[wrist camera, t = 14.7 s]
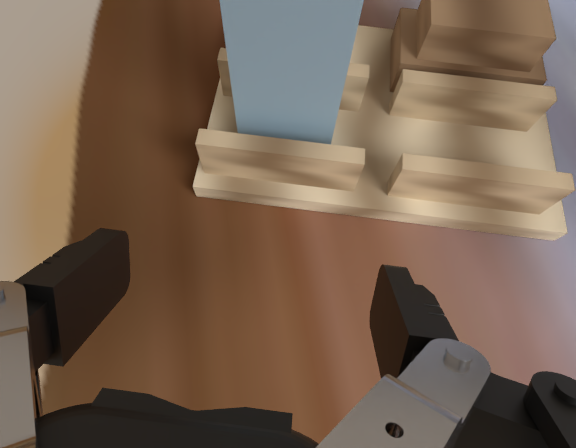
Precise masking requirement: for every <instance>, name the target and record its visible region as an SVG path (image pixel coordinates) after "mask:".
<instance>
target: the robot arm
mask: <svg viewBox="0 0 576 448" xmlns="http://www.w3.org/2000/svg"><path fill="white" fill-rule="evenodd" d="M129 282H130V260H129V239H128V235H127V233H126V232H125V231H119V230H112V229H104V228H100V229H98V230H96V231H95V232H94V233H92V234H91V235H89V236H88V237H87V238H85V239H84V240H83V241H79V242H76V243H73V244H71V245H68V246H65V247H63V248H62V249H60V250H59V251H58V252H56V253H55V254H53V256H52V257H49V258H47V259H46V260H45V261H43V264H42V263H40V264H39V265H37V266H36V267H35V268H33V269H32V270H30V271H29V272H27V273H26V274H25V275H23V276H22V277H20V278H19V279H17V280H16V281H14V282H9V281H0V448H576V380H574V379H572V378H570V377H567V376H565V375H562V374H558V373H554V372H547V371H546V372H538V373H536V374H534V375H533V377H532V379H531V381H530V383H529V386H527V385H524V384H521V383H518V382H515V381H512V380H509V379H507V378H504V377H501V376H498V375H496V374H493V373H491V368H490V365H489V363H488V361H487V360H486V358H485V357H484V356H483V355H482V354H481V353H479V352H478V351H477V350H475V349H474V348H472V347H471V346H469V345H467V344H465V343H462V342H459V340H458V338H457V337H456V335H455V333H454V331H453V329H452V327H451V326H450V324H449V322H448V320H447V318H446V317H445V316H444V313H443V311H442V309H441V308H440V305H439V303H438V301H437V300H436V298H435V296H434V295H433V294H432V293H431V292H430V291H429V290H427V289H426V288H425V287H424V286H423V285H417V284H414V282H413V280H412V278H411V275H410V273H409V271H408V269H407V268H406V267H398V266H390V265H381V267H380V269H379V273H378V278H377V282H376V287H375V291H374V296H373V300H372V305H371V310H370V329H371V334H372V339H373V343H374V348H375V352H376V357H377V361H378V366H379V371H380V375H381V380H380V381H379V382H378V383H377V384H376V385H375V386H374V387H373V388H372V389H371V390H370V391H369V392H368V393H367V394H366V395H365V396H364V397H363V398H362V400H361V401H360V402H359V403H358V404H357V405H356V406H355V407H354V408H353V409H352V410H351V411H350V412H349V413H348V414H347V415H346V416H345V417H344V418H343V419H342V421H341V422H340V423H339V424H338V425H337V426H336V427H335V428H334V429H333V430H332V431H331V432H330V433H329V434H328V435H327V436H326V437H325V438H324V439H323V440H322V442H321V443H320V444H318V443H317V442H315V441H314V440H312V439H311V438H309V437H307V436H305V435H303V434H301V433H299V432H297V431H294V430H292V429H291V427H292V413H285V412H278V411H270V410H263V409H256V408H248V407H240V408H227V409H214V410H201V411H194V410H189V409H186V408H184V407H181V406H179V405H176V404H173V403H171V402H168V401H166V400H163V399H160V398H158V397H155V396H153V395H150V394H145V393H137V392H130V391H123V390H115V389H108V388H102V389H101V391H100V392H99V394H98V395H97V397H96V398H95V400H94V401H93V403H87V404H81V405H75V406H71V407H67V408H63V409H60V410H57V411H54V412H51V413H48V414H46V415H44V416H43V408H42V399H41V389H40V380H39V374H38V369H39V368H40V367H41V366H42V365H43V364H49V365H57V366H64V365H65V364H66V363H67V361H68V360H69V359H70V358H71V357H72V356H73V354H74V353H75V352H76V351H77V350H78V349H79V347H80V346H81V345H82V344H83V343H84V342H85V340H86V339H87V338H88V337H89V336H90V335H91V333H92V332H93V331H94V330H95V329H96V328H97V326H98V325H99V324H100V323H101V322H102V321H103V319H104V318H105V317H106V316H107V315H108V314H109V312H110V311H111V310H112V309H113V308H114V307H115V305H116V304H117V303H118V302H119V301H120V300H121V298H122V297H123V296H124V295H125V293H126V291H127V289H128V286H129Z"/></svg>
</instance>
